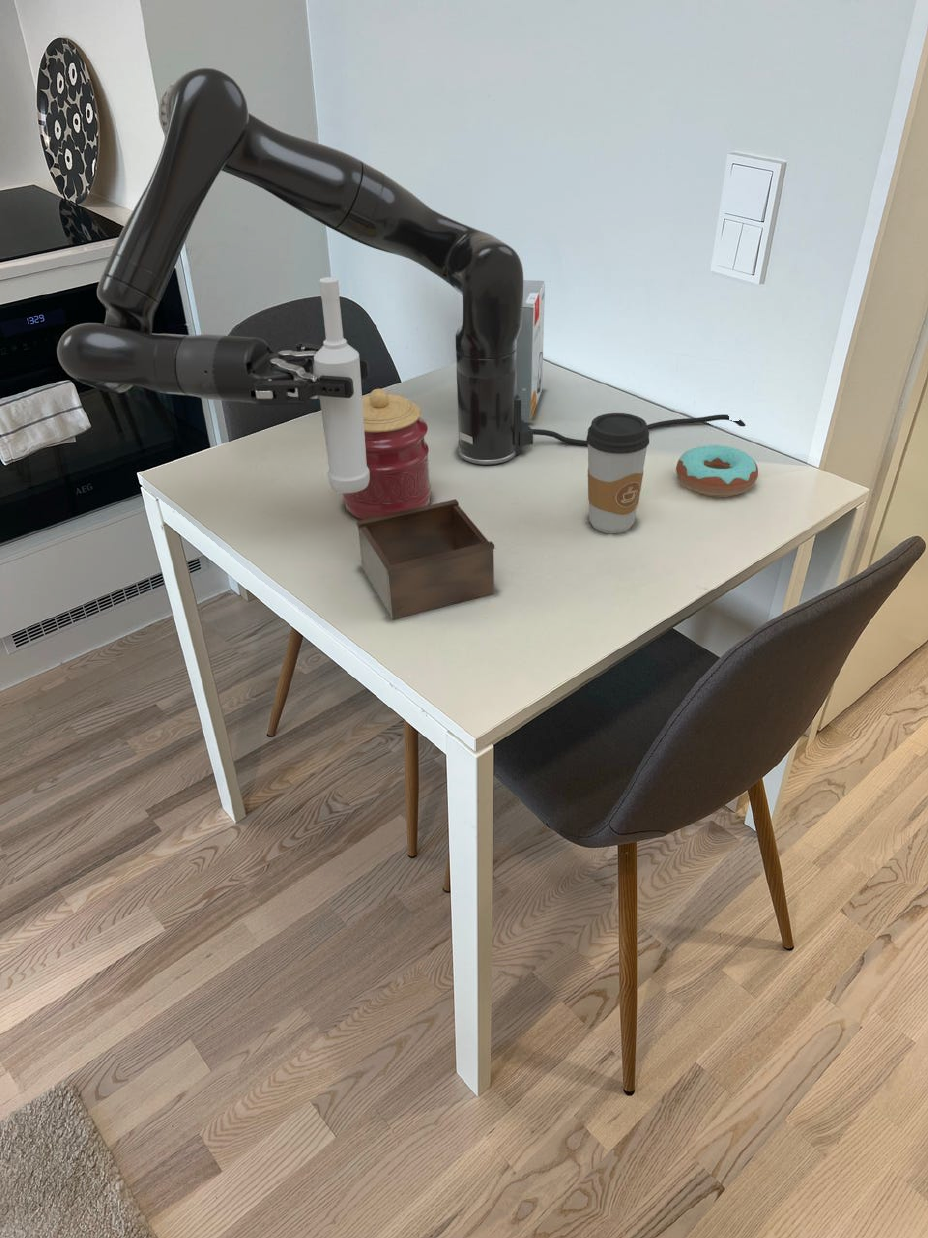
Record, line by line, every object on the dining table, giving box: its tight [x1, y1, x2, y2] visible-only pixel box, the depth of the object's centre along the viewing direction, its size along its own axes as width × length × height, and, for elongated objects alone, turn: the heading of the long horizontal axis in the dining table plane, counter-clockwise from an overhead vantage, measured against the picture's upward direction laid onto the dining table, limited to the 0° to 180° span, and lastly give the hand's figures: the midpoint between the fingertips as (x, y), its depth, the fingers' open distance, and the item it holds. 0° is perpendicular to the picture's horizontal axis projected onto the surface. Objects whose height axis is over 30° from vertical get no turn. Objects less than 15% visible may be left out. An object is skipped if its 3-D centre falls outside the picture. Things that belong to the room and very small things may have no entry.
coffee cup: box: [585, 412, 650, 534], centre depth 127 cm, size 8×8×15 cm
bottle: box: [314, 276, 370, 494], centre depth 109 cm, size 5×5×25 cm
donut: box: [675, 444, 759, 498], centre depth 139 cm, size 12×12×4 cm
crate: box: [355, 498, 495, 620], centre depth 119 cm, size 14×13×7 cm
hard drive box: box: [516, 279, 546, 424], centre depth 160 cm, size 16×8×20 cm, turn 168°
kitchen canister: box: [342, 388, 432, 520], centre depth 133 cm, size 13×13×18 cm
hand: (359, 378), depth 107 cm, fingers closed on bottle, 5 cm apart
